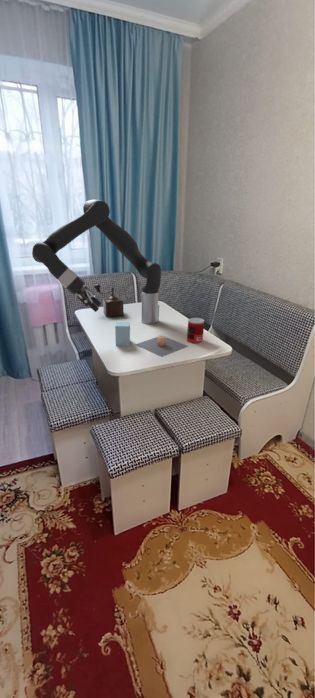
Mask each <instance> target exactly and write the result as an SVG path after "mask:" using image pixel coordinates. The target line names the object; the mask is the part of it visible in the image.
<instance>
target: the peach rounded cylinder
mask: <svg viewBox="0 0 315 698" xmlns="http://www.w3.org/2000/svg"><path fill="white" fill-rule="evenodd" d="M157 337H158V346H159V347H165V346H166V337H167V336H165V335H159V336H157Z"/></svg>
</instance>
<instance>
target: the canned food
mask: <svg viewBox="0 0 315 698" xmlns="http://www.w3.org/2000/svg"><path fill="white" fill-rule="evenodd" d="M204 329H205V319H203V318H200V317H190V318H188V321H187V333H186V334H187V335H186V341H187V342H188V343H191V344H200V343H202V342H203V341H204V340H203V338H204V331H205V330H204Z"/></svg>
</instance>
